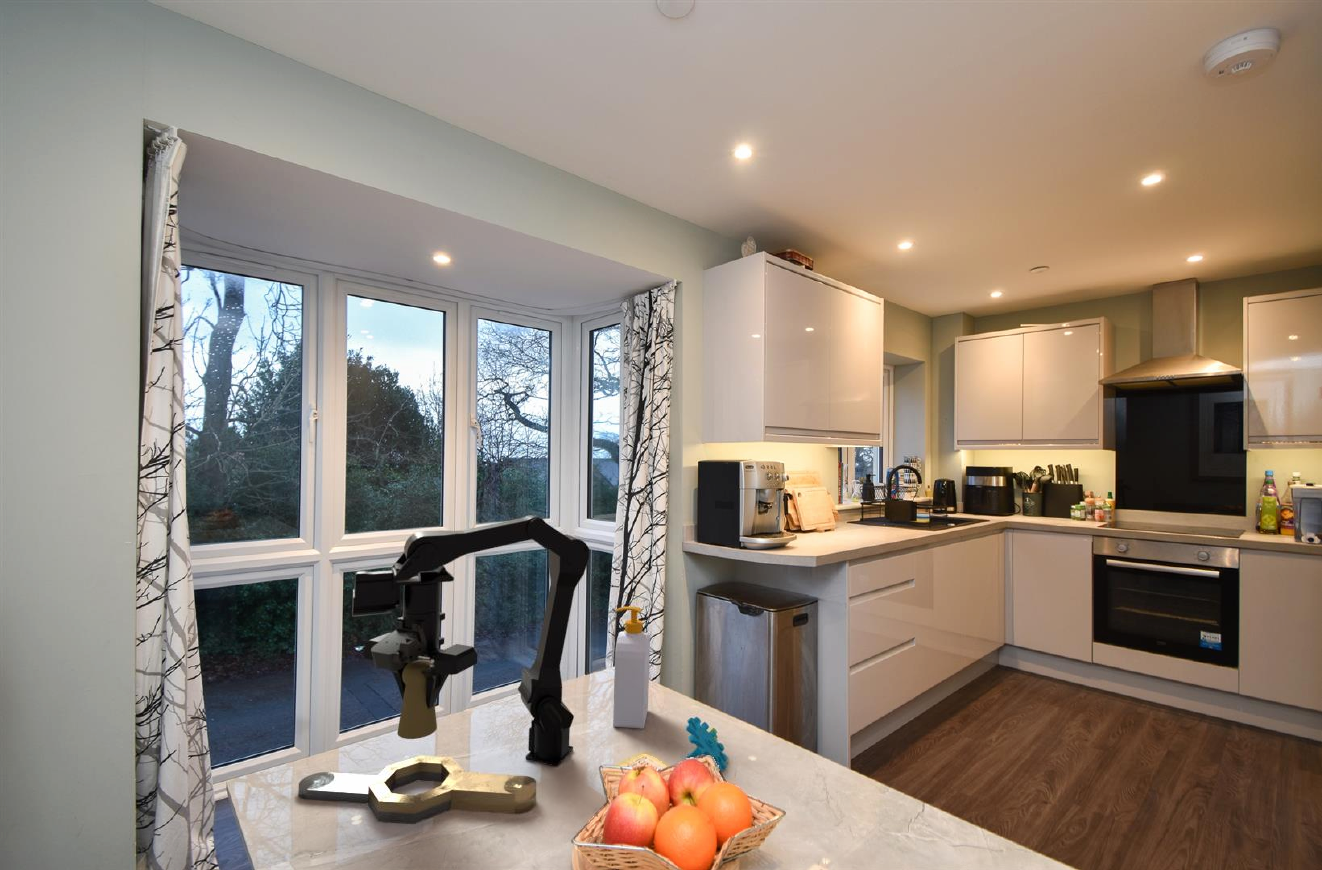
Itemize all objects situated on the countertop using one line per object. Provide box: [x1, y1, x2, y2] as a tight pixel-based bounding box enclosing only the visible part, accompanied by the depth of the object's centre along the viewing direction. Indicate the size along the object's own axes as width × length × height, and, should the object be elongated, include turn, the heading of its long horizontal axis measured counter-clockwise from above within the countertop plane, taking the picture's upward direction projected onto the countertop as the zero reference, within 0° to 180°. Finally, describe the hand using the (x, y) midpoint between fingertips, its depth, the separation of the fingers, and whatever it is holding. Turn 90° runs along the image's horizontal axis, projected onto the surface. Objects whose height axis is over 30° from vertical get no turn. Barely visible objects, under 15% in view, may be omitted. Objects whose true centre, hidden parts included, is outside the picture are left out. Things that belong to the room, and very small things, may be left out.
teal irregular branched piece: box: [684, 716, 728, 771], centre depth 106 cm, size 11×6×10 cm
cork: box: [397, 659, 438, 740], centre depth 97 cm, size 6×6×11 cm
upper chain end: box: [368, 755, 538, 815], centre depth 93 cm, size 26×13×3 cm, turn 86°
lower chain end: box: [297, 771, 452, 825], centre depth 94 cm, size 26×13×2 cm, turn 86°
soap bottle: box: [612, 605, 651, 729], centre depth 123 cm, size 9×7×23 cm
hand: (418, 705), depth 97 cm, fingers closed on cork, 4 cm apart
